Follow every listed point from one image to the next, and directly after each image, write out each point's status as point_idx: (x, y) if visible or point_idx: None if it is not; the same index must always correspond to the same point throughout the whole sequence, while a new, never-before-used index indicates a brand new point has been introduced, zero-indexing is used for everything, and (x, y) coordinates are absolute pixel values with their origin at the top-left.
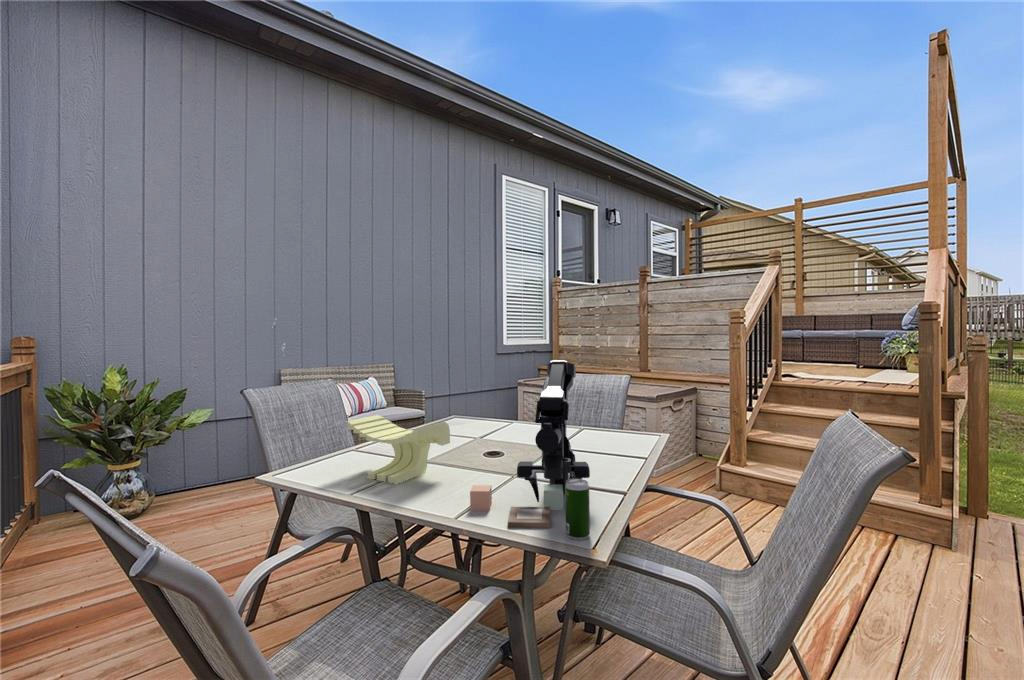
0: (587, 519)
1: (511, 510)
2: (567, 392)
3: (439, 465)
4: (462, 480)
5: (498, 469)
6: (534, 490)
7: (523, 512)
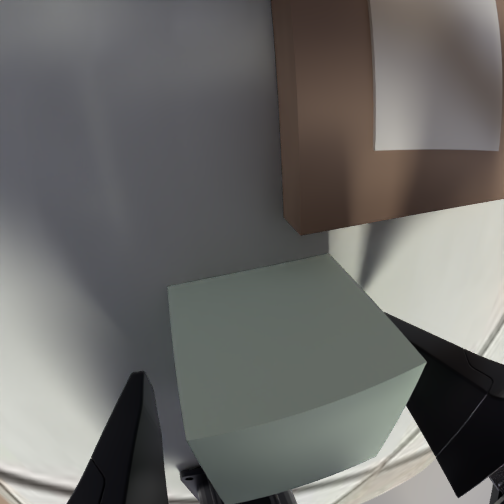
0: None
1: None
2: None
3: None
4: None
5: (401, 468)
6: (462, 352)
7: (481, 85)
